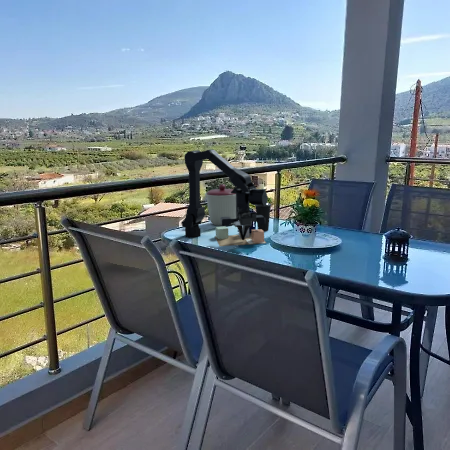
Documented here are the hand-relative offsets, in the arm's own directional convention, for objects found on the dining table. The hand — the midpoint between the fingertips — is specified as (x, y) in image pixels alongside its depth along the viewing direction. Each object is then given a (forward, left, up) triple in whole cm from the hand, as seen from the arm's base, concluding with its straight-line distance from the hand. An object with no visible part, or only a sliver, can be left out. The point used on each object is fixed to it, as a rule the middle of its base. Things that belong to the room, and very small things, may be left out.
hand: (242, 239), depth 174 cm
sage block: (-8, +9, -1) cm, 12 cm away
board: (-1, +4, -2) cm, 4 cm away
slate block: (+2, +9, -1) cm, 10 cm away
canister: (-3, +42, -2) cm, 42 cm away
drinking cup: (+13, +18, -2) cm, 23 cm away
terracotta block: (+6, 0, -1) cm, 7 cm away
